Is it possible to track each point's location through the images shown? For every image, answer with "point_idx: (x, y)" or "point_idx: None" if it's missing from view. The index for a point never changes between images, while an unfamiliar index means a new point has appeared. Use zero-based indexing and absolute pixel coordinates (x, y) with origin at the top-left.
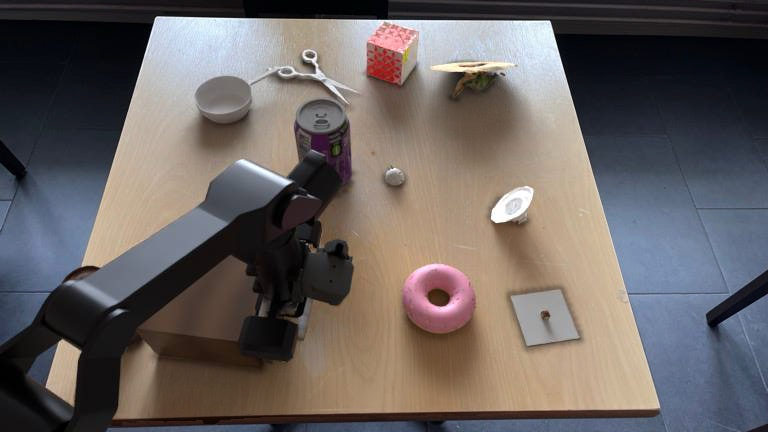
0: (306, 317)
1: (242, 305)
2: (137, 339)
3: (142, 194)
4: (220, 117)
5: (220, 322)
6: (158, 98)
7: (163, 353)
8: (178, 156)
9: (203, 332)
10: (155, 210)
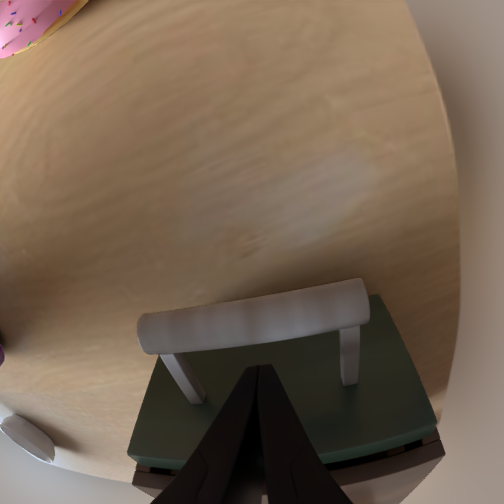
0: (265, 321)
1: None
2: None
3: None
4: (41, 444)
5: (379, 495)
6: (78, 467)
7: None
8: (104, 460)
9: (402, 493)
10: None
